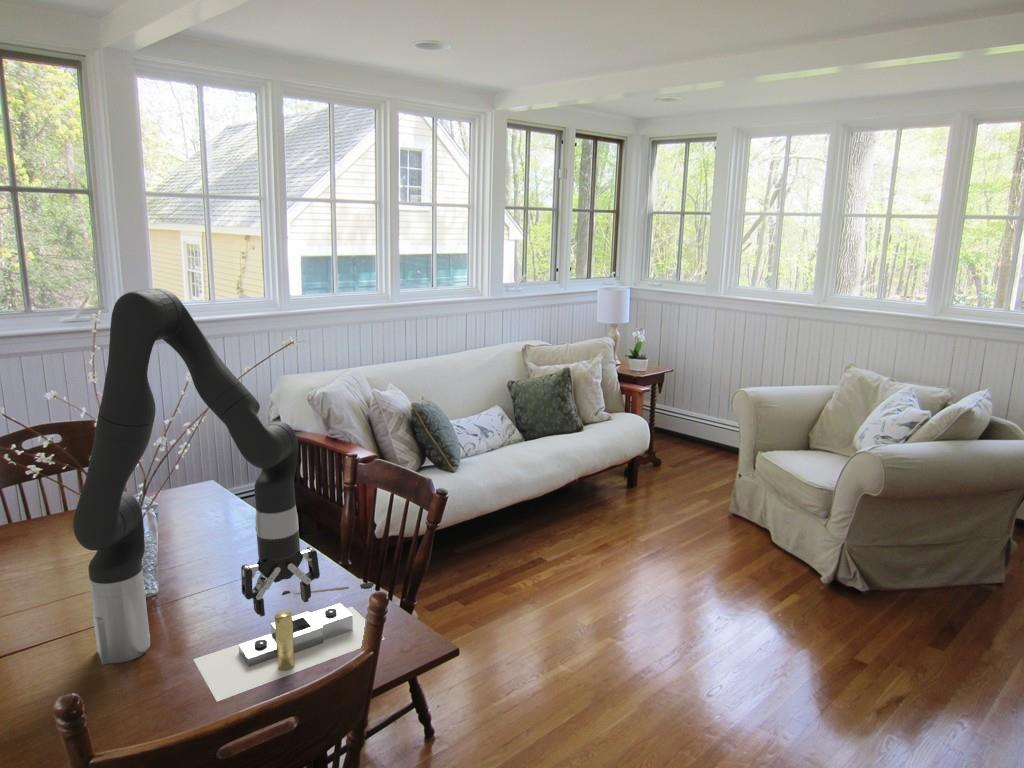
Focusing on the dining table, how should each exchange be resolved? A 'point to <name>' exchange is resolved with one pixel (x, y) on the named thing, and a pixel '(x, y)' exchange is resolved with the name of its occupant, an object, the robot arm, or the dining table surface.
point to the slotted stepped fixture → (300, 633)
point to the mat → (271, 662)
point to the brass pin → (284, 640)
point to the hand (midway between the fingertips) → (283, 607)
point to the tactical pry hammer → (364, 585)
